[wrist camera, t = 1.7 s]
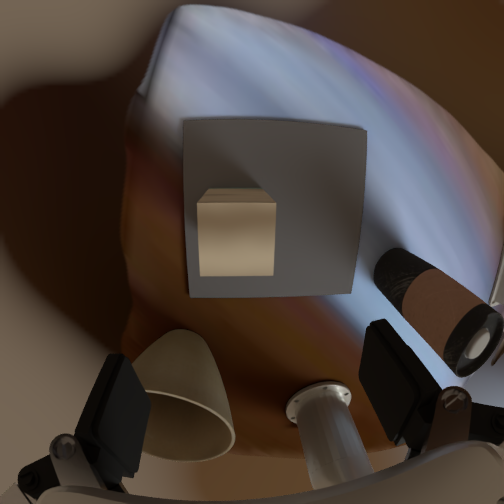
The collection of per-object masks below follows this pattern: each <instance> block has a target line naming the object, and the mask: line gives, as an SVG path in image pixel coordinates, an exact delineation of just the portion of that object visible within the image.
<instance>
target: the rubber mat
mask: <svg viewBox="0 0 504 504" xmlns="http://www.w3.org/2000/svg"><path fill="white" fill-rule="evenodd" d="M366 156H367V131H366V130H360V129H353V128H347V127H340V126H332V125H324V124H315V123H304V122H292V121H277V120H252V119H212V120H188V121H184V126H183V183H184V216H185V237H186V254H187V268H188V281H189V293H190V298H247V297H288V296H314V295H334V294H351V291H352V285H353V279H354V273H355V267H356V261H357V254H358V247H359V239H360V231H361V222H362V213H363V202H364V190H365V176H366ZM209 188H262V189H263V190H264V191H265V192H266V193H267V194H268V195H269V196H270V197H271V198H272V199H273V200H274V201H275V202H276V226H275V250H274V271H273V276H200V266H199V246H198V221H197V202H198V201H199V200H200V199H201V198H202V196H203V195H204V194H205V193H206V191H207V190H208V189H209Z"/></svg>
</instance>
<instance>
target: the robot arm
mask: <svg viewBox="0 0 504 504" xmlns="http://www.w3.org/2000/svg"><path fill="white" fill-rule="evenodd" d="M359 380H360V382H361V384H362V386H363V388H364V390H365V392H366V394H367V396H368V398H369V400H370V402H371V404H372V406H373V408H374V410H375V412H376V414H377V416H378V418H379V420H380V422H381V424H382V426H383V428H384V431H385V433H386V435H387V437H388V439H389V440H390V441H394V443H395V445H396V446H398V445H400V444H403V443H405V442H406V444H407V446H408V447H409V449H408V453H407V455H406V458H405V461H404V462H402V463H399V464H397V465H394V466H392V467H389V468H387V469H384V470H381V471H378V472H376V473H374V471H373V469H372V466H371V464H370V461H369V459H368V456H367V453H366V451H365V448H364V446H363V443H362V441H361V438H360V436H359V434H358V431H357V429H356V426H355V424H354V421H353V419H352V417H351V414H350V412H349V409H348V407H347V406H348V405H349V403H350V400H351V393H350V390H349V389H348V387H347V386H346V385H345V384H342V383H340V382H335V381H327V382H320V383H316V384H313V385H310V386H308V387H305V388H303V389H302V390H300V391H298V392H297V393H296V394H294V395H293V396H292V397H291V398H290V399H289V401H288V403H287V405H286V414H287V417H288V419H289V420H290V421H292V422H294V423H296V424H297V425H298V429H299V433H300V438H301V442H302V446H303V451H304V455H305V459H306V463H307V467H308V472H309V476H310V480H311V484H312V487H313V488H314V490H312V491H307V492H302V493H296V494H291V495H284V496H277V497H271V498H261V499H251V500H236V501H188V500H172V499H162V498H153V497H146V496H138V495H132V494H129V493H128V491H127V490H126V488H125V487H124V485H123V484H122V482H121V480H122V476H123V477H129V478H133V477H134V473H135V472H137V471H138V469H139V463H140V458H141V453H142V448H143V443H144V438H145V433H146V428H147V423H148V419H149V414H150V410H151V401H150V398H149V397H148V395H147V393H146V391H145V389H144V387H143V386H142V384H141V382H140V380H139V378H138V376H137V374H136V372H135V370H134V368H133V366H132V364H131V362H130V360H129V359H128V358H127V357H125V356H124V355H123V354H109V355H108V356H107V358H106V361H105V362H104V364H103V367H102V369H101V371H100V373H99V375H98V377H97V379H96V382H95V384H94V386H93V388H92V391H91V393H90V395H89V397H88V400H87V402H86V405H85V407H84V409H83V412H82V414H81V417H80V419H79V422H78V424H77V427H76V429H75V434H74V436H73V435H71V434H60V435H58V436H56V437H55V438H54V439H53V440H52V442H51V444H50V447H49V452H50V454H49V455H47V456H45V457H44V458H42V459H40V460H38V461H35V462H34V463H31V464H29V465H27V466H25V467H24V468H22V469H21V471H20V472H19V475H18V484H16V483H14V484H13V485H12V486H11V487H10V488H9V489H8V490H6V492H4V493H3V494H2V496H0V504H504V408H501V407H495V406H489V405H484V404H479V403H474V402H472V398H471V396H470V394H469V393H468V392H467V391H466V390H465V389H463V388H461V387H458V386H450V387H447V388H445V389H443V390H442V389H441V387H440V386H439V384H438V383H437V382H436V380H435V379H434V378H433V376H432V375H431V374H430V372H429V371H428V370H427V368H426V367H425V366H424V364H423V363H422V362H421V361H420V359H419V358H418V357H417V355H416V354H415V353H414V351H413V350H412V349H411V348H410V347H409V346H408V345H406V343H405V342H404V341H403V340H402V338H401V337H400V336H399V335H398V333H397V332H396V331H395V330H394V328H393V327H392V326H391V325H390V323H389V322H388V321H387V320H386V319H380V320H376V321H372V322H371V323H370V326H367V328H366V333H365V340H364V346H363V352H362V358H361V363H360V368H359Z"/></svg>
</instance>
